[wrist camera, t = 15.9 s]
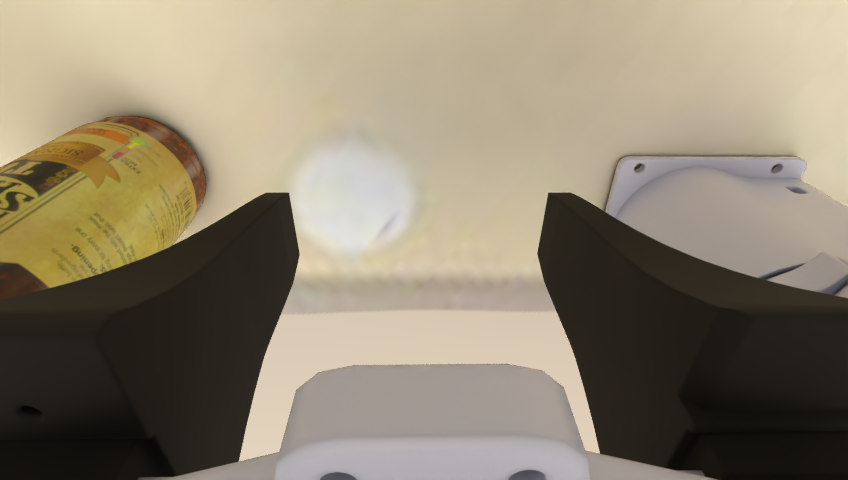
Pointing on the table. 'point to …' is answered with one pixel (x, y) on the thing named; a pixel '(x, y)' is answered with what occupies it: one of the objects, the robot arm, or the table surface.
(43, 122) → the table surface
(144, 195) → the sauce bottle
